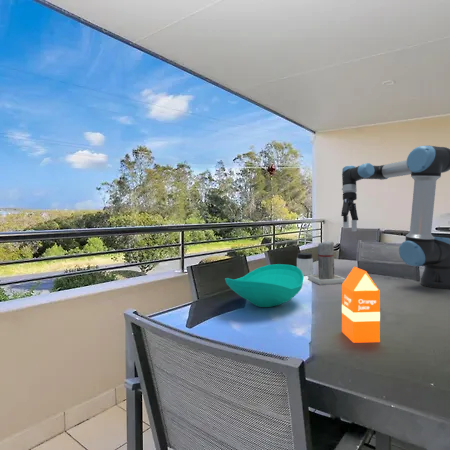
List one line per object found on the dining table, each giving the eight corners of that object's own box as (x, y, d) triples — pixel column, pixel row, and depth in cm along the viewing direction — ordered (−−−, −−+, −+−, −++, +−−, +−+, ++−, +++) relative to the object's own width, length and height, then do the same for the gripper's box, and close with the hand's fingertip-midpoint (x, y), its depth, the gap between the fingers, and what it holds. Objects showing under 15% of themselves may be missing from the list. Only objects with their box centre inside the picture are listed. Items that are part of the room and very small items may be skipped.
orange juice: (366, 331, 106) (366, 266, 105) (380, 342, 97) (380, 271, 96) (341, 331, 106) (341, 266, 105) (352, 342, 97) (352, 271, 96)
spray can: (331, 282, 173) (331, 242, 172) (315, 280, 178) (315, 241, 177) (337, 279, 180) (337, 240, 179) (321, 277, 185) (321, 240, 184)
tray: (346, 283, 173) (346, 278, 173) (319, 285, 171) (319, 280, 171) (332, 278, 187) (332, 273, 187) (308, 279, 185) (308, 275, 185)
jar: (306, 276, 193) (306, 255, 193) (294, 274, 199) (294, 253, 198) (315, 274, 199) (315, 253, 199) (303, 272, 205) (303, 252, 205)
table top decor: (257, 290, 161) (257, 262, 161) (316, 298, 146) (316, 266, 146) (207, 312, 128) (206, 276, 128) (276, 325, 113) (276, 284, 112)
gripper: (350, 198, 211) (351, 233, 207) (334, 188, 191) (335, 226, 188) (363, 196, 206) (364, 232, 203) (348, 187, 187) (349, 226, 183)
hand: (350, 229), depth 195 cm, fingers open, 13 cm apart
